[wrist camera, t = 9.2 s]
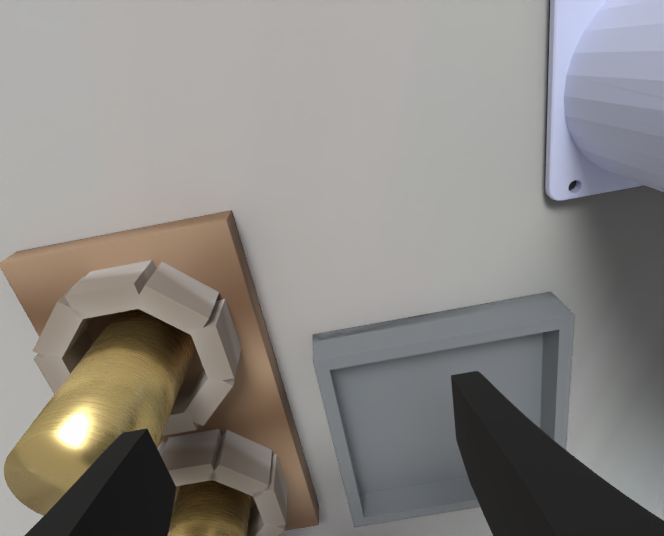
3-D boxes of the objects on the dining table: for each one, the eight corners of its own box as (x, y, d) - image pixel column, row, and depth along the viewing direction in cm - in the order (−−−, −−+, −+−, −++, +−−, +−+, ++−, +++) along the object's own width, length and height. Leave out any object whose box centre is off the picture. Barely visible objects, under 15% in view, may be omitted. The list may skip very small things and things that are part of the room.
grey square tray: (550, 291, 20) (574, 314, 18) (544, 461, 25) (563, 493, 23) (312, 334, 20) (313, 361, 19) (351, 493, 25) (354, 527, 23)
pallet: (16, 251, 18) (-39, 288, 15) (231, 210, 18) (216, 239, 15) (166, 530, 26) (148, 589, 23) (318, 505, 25) (319, 562, 23)
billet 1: (180, 294, 18) (109, 423, 12) (207, 365, 19) (157, 512, 13) (94, 310, 18) (-22, 446, 12) (128, 379, 20) (41, 532, 13)
